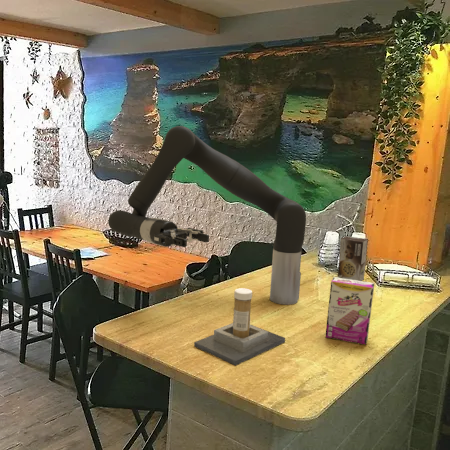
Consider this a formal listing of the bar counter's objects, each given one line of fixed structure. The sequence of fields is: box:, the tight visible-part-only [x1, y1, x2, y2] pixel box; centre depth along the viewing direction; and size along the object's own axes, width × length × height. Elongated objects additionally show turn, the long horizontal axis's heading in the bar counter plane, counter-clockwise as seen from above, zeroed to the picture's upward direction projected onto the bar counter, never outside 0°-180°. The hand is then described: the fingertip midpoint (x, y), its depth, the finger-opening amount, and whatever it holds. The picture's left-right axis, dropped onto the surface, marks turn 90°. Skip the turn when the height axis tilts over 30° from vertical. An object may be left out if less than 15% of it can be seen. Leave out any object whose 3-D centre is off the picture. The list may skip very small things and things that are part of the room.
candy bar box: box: [324, 276, 375, 346], centre depth 134 cm, size 11×5×16 cm, turn 70°
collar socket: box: [193, 322, 286, 366], centre depth 128 cm, size 20×14×4 cm
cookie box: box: [337, 235, 369, 281], centre depth 191 cm, size 9×6×16 cm
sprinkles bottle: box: [232, 287, 253, 339], centre depth 127 cm, size 5×5×13 cm
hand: (197, 241), depth 135 cm, fingers open, 8 cm apart
